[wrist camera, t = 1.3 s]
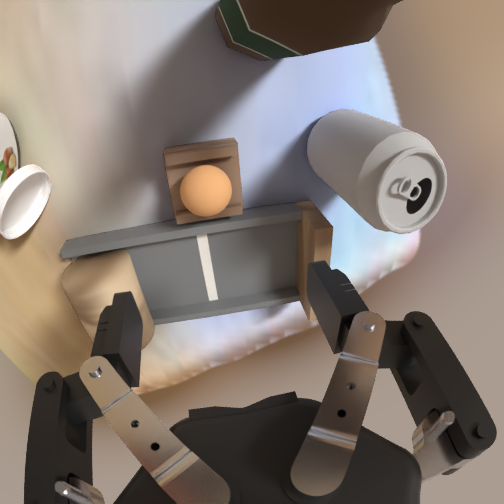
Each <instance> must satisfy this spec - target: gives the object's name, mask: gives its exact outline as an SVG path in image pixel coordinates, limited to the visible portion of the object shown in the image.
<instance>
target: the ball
mask: <svg viewBox="0 0 504 504" xmlns="http://www.w3.org/2000/svg"><path fill="white" fill-rule="evenodd" d="M180 195H181V199H182V202H183V204H184V205H185V207H186V208H187V209H188V210H189V211H190V212H192V213H194V214H196V215H198V216H206V217H207V216H213V215H216V214H218V213H220V212H221V211H222V210H224V209H225V208H226V206H227V205H228V203H229V201H230V199H231V195H232V186H231V182H230V180H229V178H228V176H227V175H226V174H225V172H223V171H222V170H221V169H219V168H217V167H215V166H211V165H201V166H198V167H195V168H193V169H192V170H190V171H189V172H188V173H187V174H186V175H185V177H184V178H183V180H182V183H181V187H180Z"/></svg>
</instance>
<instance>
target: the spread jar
mask: <svg viewBox="0 0 504 504" xmlns="http://www.w3.org/2000/svg"><path fill="white" fill-rule="evenodd" d="M50 191H51V178H50V176H49V174H48V173H46V172H45V171H44V170H43V169H41V168H40V167H39V166H37V165H26V166H24V167H22V168H20V147H19V141H18V138H17V134H16V132H15V129H14V127H13V125H12V123H11V121H10V120H9V119H8V118H7V117H6V116H5V115H4V114H3V113H1V112H0V234H1V235H2V236H3V237H4V238H6V239H9V240H10V239H15V238H18V237H20V236H21V235H23V234H24V233H25V232H27V231H28V230H29V229H30V228H31V227H32V225H33V224H34V223H35V222H36V220H37V219H38V218H39V216H40V215H41V213H42V211H43V209H44V208H45V206H46V203H47V201H48V198H49V195H50Z"/></svg>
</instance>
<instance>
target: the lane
mask: <svg viewBox="0 0 504 504" xmlns="http://www.w3.org/2000/svg"><path fill="white" fill-rule="evenodd" d="M242 211H243V214H241V215H234V216H227V217H221V218H214V219H208V220H201V221H195V222H189V223H183V224H177V220H171V221H165V222H159V223H154V224H148V225H142V226H137V227H131V228H126V229H121V230H115V231H110V232H105V233H100V234H95V235H90V236H85V237H80V238H75V239H70V240H66V242H65V244H64V245H63V247H62V249H61V251H60V254H61V256H62V258H63V259H64V258H71V260H72V262H73V261H74V260H76V259H77V258H79V257H80V256H82V255H86V254H91V253H97V252H102V251H108V250H113V249H119V248H122V249H124V250H126V251H127V252H128V253H129V255H130V257H131V260H132V264H133V267H134V270H135V272H136V275H137V278H138V281H139V284H140V287H141V290H142V292H143V295H144V298H145V301H146V303H147V306H148V309H149V311H150V314H151V317H152V319H153V322H154V325H158V324H165V323H172V322H179V321H186V320H193V319H199V318H206V317H212V316H218V315H224V314H230V313H236V312H242V311H248V310H253V309H259V308H264V307H270V306H275V305H280V304H285V303H291V302H296V301H300V294H299V292H298V290H297V288H296V262H297V220H302V213H303V212H302V210H301V209H300V208H299V206H298V205H297V204H296V203H295V202H293V203H285V204H277V205H270V206H262V207H255V208H248V209H242Z"/></svg>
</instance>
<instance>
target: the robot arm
mask: <svg viewBox="0 0 504 504" xmlns="http://www.w3.org/2000/svg"><path fill="white" fill-rule="evenodd" d="M306 291H307V297H308V301H309V303H310V305H311V307H312V309H313V311H314V313H315V315H316V318H317V320H318V322H319V324H320V326H321V328H322V330H323V332H324V334H325V336H326V338H327V340H328V343H329V345H330V347H331V349H332V351H333V353H334V354H336V353H340V352H342V354H340V357H339V360H338V362H337V365H336V368H335V370H334V373H333V375H332V378H331V381H330V383H329V386H328V388H327V391H326V393H325V396H324V398H323V401H322V403H321V402H319V401H316V400H312V399H305V398H297V396H296V393H295V391H294V392H290V393H285V394H281V395H276V396H271V397H268V398H266V399H263V400H261V401H259V402H257V403H254V404H252V405H250V406H247V407H244V408H231V407H216V406H214V407H207V408H200V409H191V410H189V417H188V418H185V419H183V420H181V421H179V422H178V423H176V424H175V425H173V426H172V427H171V428H170V429H168V428H167V427H166V426H165V425H164V424H163V423H162V422H161V421H160V420H159V419H158V418H157V417H156V416H155V415H154V413H153V412H152V411H151V410H150V409H149V408H148V407H147V406H146V405H145V403H144V402H143V401H142V400H141V399H140V398H139V397H138V395H137V394H136V393H135V392H134V391H133V390H131V387H139V380H140V362H141V348H142V335H143V321H142V317H141V314H140V312H139V309H138V307H137V304H136V302H135V299H134V296H133V294H132V292H131V291H127V292H120V293H115V294H114V297H113V301H112V305H108V306H106V307H105V308H104V310H103V311H102V312H101V314H100V317H99V321H98V325H97V330H96V331H97V332H96V334H95V339H94V343H93V348H92V353H91V358H89V359H87V360H86V361H85V362H84V363H83V364H82V365H81V367H80V370H79V372H77V373H75V374H72V375H69V376H67V377H64V378H62V376H61V375H60V374H59V373H57V372H48V373H46V374H44V375H43V376H42V377H41V378H40V379H39V380H38V382H37V385H36V390H35V395H34V401H33V407H32V413H31V419H30V426H29V434H28V443H27V452H26V464H25V483H24V504H105V502H104V498H103V495H102V494H101V492H100V491H99V490H98V489H97V488H95V487H93V481H92V480H93V479H92V423H93V422H92V421H93V419H96V418H99V417H101V416H104V417H105V418H106V419H107V421H108V422H109V424H110V425H111V427H112V428H113V429H114V431H115V432H116V433H117V435H118V436H119V437H120V438H121V440H122V441H123V442H124V444H125V445H126V446H127V447H128V448H129V450H130V451H131V452H132V453H133V455H134V456H135V457H136V458H137V459H138V461H139V462H140V463H141V464H142V466H141V467H140V469H139V470H138V471H137V473H136V474H135V475H134V477H133V478H132V479H131V481H130V482H129V483H128V485H127V486H126V488H125V489H124V490H123V491H122V493H121V494H120V495H119V497H118V498H117V499H116V501H115V502H114V503H113V504H420V489H421V483H423V482H426V481H428V480H430V479H432V478H434V477H436V476H438V475H440V474H442V475H449V474H452V473H454V472H455V471H457V470H458V469H460V468H461V467H463V466H464V465H466V464H467V463H468V462H470V461H471V460H473V459H474V458H476V457H477V456H478V455H480V454H481V453H482V452H484V451H485V450H486V449H488V448H489V447H490V446H491V445H492V444H493V443H494V441H495V439H496V434H497V431H496V426H495V424H494V422H493V420H492V418H491V417H490V414H489V412H488V410H487V409H486V407H485V405H484V403H483V401H482V399H481V398H480V396H479V394H478V392H477V391H476V389H475V387H474V386H473V384H472V382H471V381H470V379H469V377H468V375H467V374H466V372H465V370H464V368H463V367H462V365H461V364H460V362H459V360H458V359H457V357H456V355H455V354H454V352H453V351H452V349H451V348H450V346H449V344H448V343H447V341H446V340H445V338H444V337H443V335H442V334H441V332H440V331H439V329H438V328H437V326H436V325H435V323H434V322H433V321H432V319H431V318H430V317H429V316H428V315H427V314H425V313H422V312H418V311H414V312H410V313H408V314H407V315H406V316H405V318H404V320H403V321H386V320H384V318H383V317H382V316H381V315H379V314H378V313H375V312H372V311H369V309H368V308H367V306H366V305H365V303H364V301H363V300H362V298H361V297H360V295H359V294H358V292H357V291H356V290H355V288H354V286H353V285H352V284H351V282H350V281H349V279H348V278H347V276H346V275H345V274H344V273H342V272H341V271H339V270H338V269H334V270H331V268H330V267H329V265H328V264H327V262H326V261H325V260H322V261H317V262H311V263H309V264H308V270H307V287H306ZM378 368H390V370H391V371H392V374H393V376H394V378H395V380H396V382H397V384H398V386H399V389H400V391H401V392H402V395H403V397H404V399H405V401H406V404H407V406H408V408H409V410H410V412H411V415H412V417H413V419H414V421H415V424H416V426H417V428H416V429H415V431H414V433H413V436H412V442H413V448H414V450H413V455H412V454H411V453H410V452H409V451H407V450H406V449H404V448H402V447H400V446H398V445H396V444H394V443H392V442H390V441H389V440H387V439H385V438H383V437H381V436H379V435H378V434H376V433H374V432H372V431H370V430H369V429H367V428H365V427H363V426H362V422H363V420H364V416H365V413H366V410H367V406H368V403H369V399H370V396H371V392H372V389H373V385H374V382H375V377H376V374H377V370H378Z"/></svg>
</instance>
